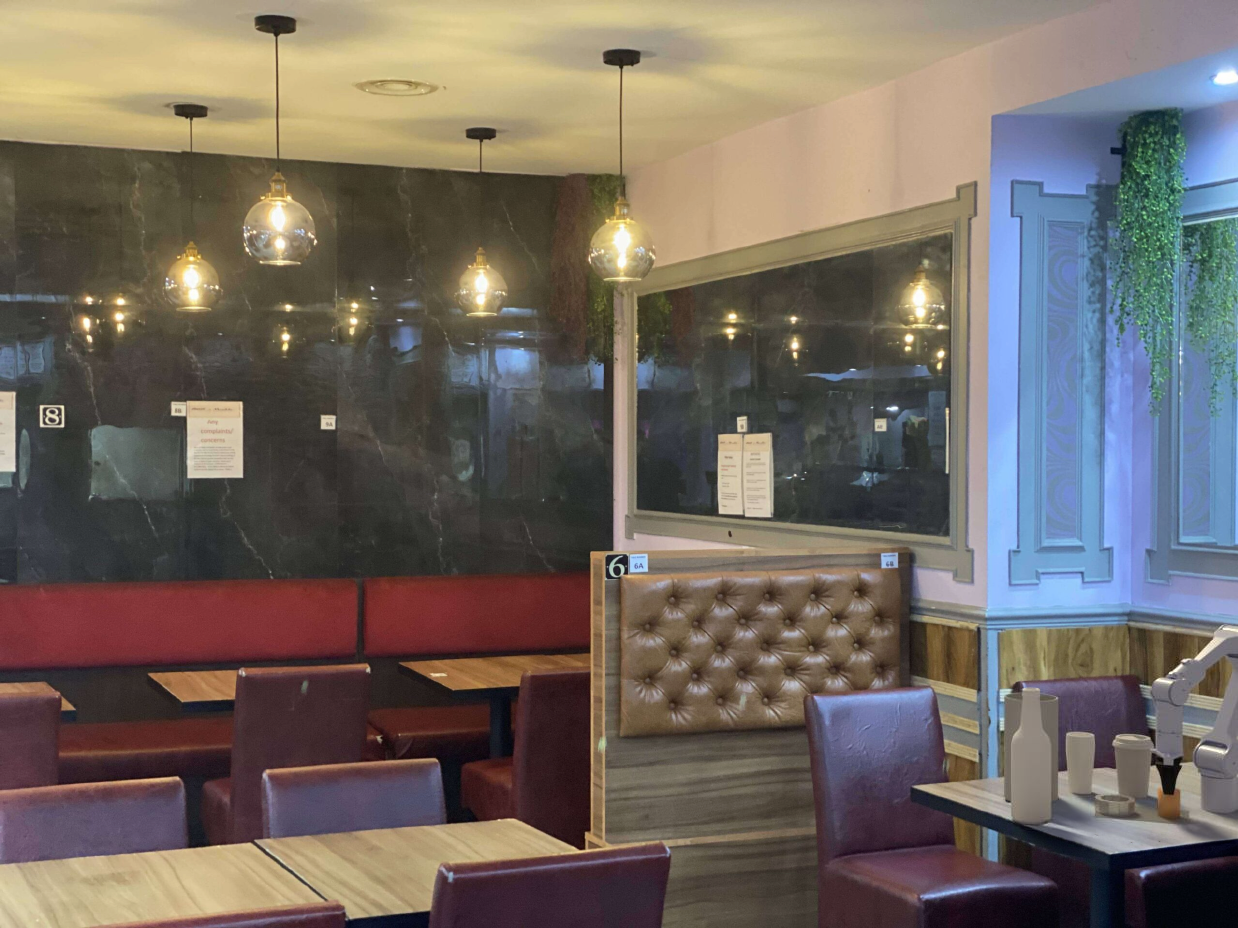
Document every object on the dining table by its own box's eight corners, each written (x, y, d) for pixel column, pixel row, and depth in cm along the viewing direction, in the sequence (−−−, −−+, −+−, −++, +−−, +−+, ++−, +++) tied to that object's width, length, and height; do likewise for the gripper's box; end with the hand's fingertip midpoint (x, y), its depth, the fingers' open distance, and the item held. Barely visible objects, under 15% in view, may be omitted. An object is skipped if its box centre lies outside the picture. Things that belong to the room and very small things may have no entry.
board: (1093, 820, 326) (1093, 816, 326) (1097, 807, 339) (1097, 802, 339) (1188, 829, 319) (1188, 824, 319) (1188, 814, 332) (1188, 810, 332)
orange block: (1165, 812, 330) (1165, 786, 330) (1184, 816, 326) (1184, 790, 326) (1153, 815, 327) (1153, 789, 327) (1172, 819, 323) (1172, 792, 323)
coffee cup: (1154, 804, 342) (1154, 741, 341) (1112, 801, 345) (1112, 739, 345) (1153, 796, 351) (1153, 734, 351) (1112, 793, 354) (1112, 732, 354)
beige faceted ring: (1109, 804, 337) (1109, 792, 337) (1142, 812, 330) (1142, 799, 330) (1087, 810, 332) (1087, 797, 332) (1120, 817, 325) (1120, 804, 325)
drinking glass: (1096, 799, 347) (1096, 737, 347) (1067, 797, 349) (1067, 736, 349) (1092, 792, 354) (1093, 732, 354) (1064, 791, 355) (1064, 730, 355)
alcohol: (1034, 814, 333) (1034, 684, 332) (1059, 822, 324) (1059, 690, 324) (1003, 817, 329) (1003, 686, 329) (1027, 826, 321) (1027, 692, 321)
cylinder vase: (1066, 799, 347) (1066, 696, 347) (1045, 809, 337) (1045, 702, 337) (1017, 791, 355) (1017, 690, 355) (995, 801, 345) (995, 697, 345)
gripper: (1151, 724, 335) (1150, 782, 335) (1149, 735, 321) (1149, 795, 321) (1183, 726, 332) (1183, 785, 332) (1183, 737, 319) (1183, 798, 319)
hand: (1168, 790), depth 327 cm, fingers open, 7 cm apart
